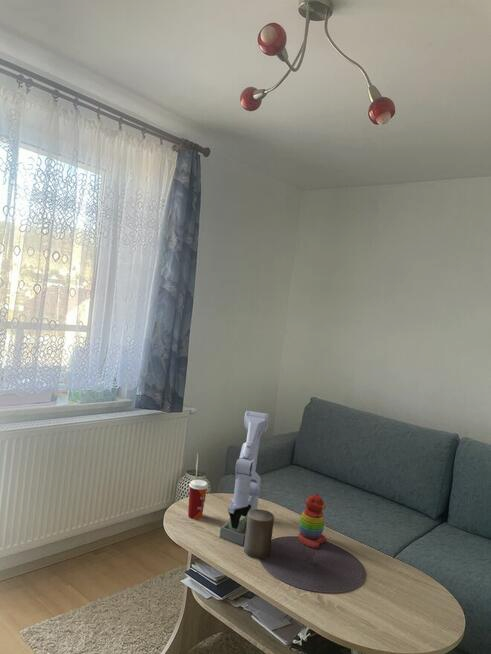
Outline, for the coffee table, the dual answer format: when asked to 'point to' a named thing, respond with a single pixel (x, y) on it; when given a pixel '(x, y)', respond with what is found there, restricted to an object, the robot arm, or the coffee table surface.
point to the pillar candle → (258, 533)
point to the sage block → (240, 525)
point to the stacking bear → (312, 522)
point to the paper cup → (197, 498)
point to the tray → (232, 535)
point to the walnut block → (245, 526)
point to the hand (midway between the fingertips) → (237, 525)
